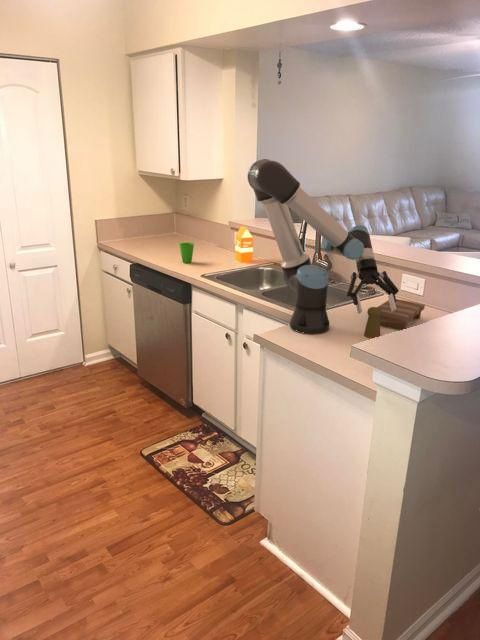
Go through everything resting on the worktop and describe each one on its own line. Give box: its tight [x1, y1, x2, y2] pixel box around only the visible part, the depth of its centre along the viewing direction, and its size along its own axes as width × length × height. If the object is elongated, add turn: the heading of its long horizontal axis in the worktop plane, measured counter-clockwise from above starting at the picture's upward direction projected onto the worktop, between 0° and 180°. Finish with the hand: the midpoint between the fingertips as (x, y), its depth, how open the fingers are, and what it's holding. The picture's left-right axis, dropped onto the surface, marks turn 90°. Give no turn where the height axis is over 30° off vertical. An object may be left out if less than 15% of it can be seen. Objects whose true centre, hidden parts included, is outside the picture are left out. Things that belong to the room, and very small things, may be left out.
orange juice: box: [235, 225, 254, 264], centre depth 304 cm, size 8×9×20 cm
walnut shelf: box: [377, 298, 426, 331], centre depth 207 cm, size 20×14×6 cm
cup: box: [178, 242, 195, 264], centre depth 299 cm, size 9×9×11 cm
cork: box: [363, 306, 382, 339], centre depth 190 cm, size 6×6×11 cm
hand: (377, 311), depth 194 cm, fingers open, 13 cm apart
